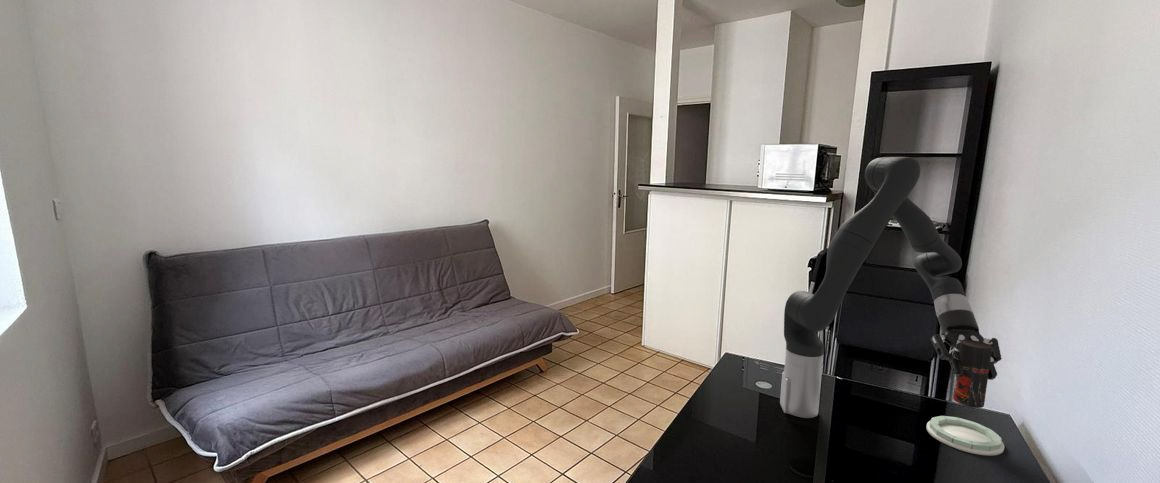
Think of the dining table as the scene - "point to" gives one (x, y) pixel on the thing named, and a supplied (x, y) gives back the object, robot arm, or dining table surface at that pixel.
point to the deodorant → (973, 373)
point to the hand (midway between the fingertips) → (976, 377)
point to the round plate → (965, 435)
